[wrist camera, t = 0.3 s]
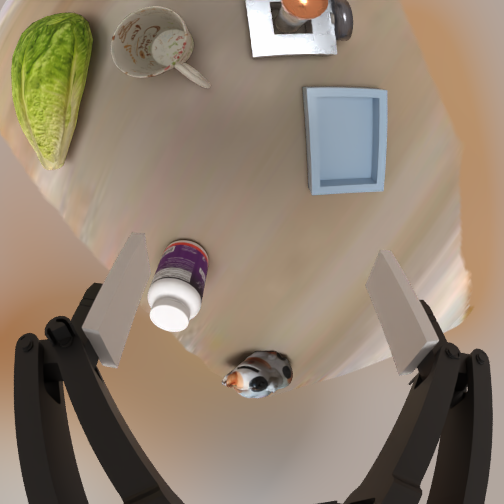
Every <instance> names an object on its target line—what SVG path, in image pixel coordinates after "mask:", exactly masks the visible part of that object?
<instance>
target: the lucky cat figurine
mask: <svg viewBox="0 0 504 504" xmlns="http://www.w3.org/2000/svg"><path fill="white" fill-rule="evenodd" d="M292 377H293V372H292V368H291V366H290V364H289V362H288V360H287V358H285V357H281V356H280V355H279V354H278V353H277V352H262V351H258V352H254V353H253V354H252V355H250V356H248V357H247V358H246V360H245V361H243V362H242V363H240V364H239V365H238V366H237V367H236V368H235V369H234V370H232V371H231V372H230V373H229V374H227V375H226V376H225V377H224V379H223V380H222V384H224V385H225V386H227V387H234V389H235V390H236V391H237V392H238V393H239V394H241V395H242V396H244V397H248V398H262V397H265V396H268V395H269V394H270V393H271V392H273V393H274V392H275V391H276V390H278V389H280V388H284V387H286V386H288V385H289V384H290V383H291V381H292Z"/></svg>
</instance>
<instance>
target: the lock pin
mask: <svg viewBox="0 0 504 504" xmlns="http://www.w3.org/2000/svg"><path fill="white" fill-rule="evenodd" d="M281 3H282V7H281V9H280V11H279V13H278V15H277V17H276V19H275V25H276V27H277V28H278V29H279V30H280V31H281V32H284V33H293V32H295V31H296V30H298V29H299V28H300V27H301V26H302V25H303V24H304V23H305V22H306V21H308V20H311V19H315V18H317V17H319V16H320V15H321V14H322V13H324V12H325V10H326V9H327V7H328V0H281Z"/></svg>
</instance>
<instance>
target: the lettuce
mask: <svg viewBox="0 0 504 504" xmlns="http://www.w3.org/2000/svg"><path fill="white" fill-rule="evenodd" d="M92 43H93V38H92V34H91V30H90V26H89V22H88V21H87V20H86V19H85V18H83V17H82V16H81V15H78V14H75V13H59V14H54V15H50V16H47V17H44V18H42V19H40V20H38V21H36V22H34V23H32V24H31V25H30V26H29V27H28V28H27V29H26V30H25V31H24V32H23V33H22V35H21V37H20V39H19V41H18V44H17V46H16V49H15V51H14V54H13V58H12V68H11V78H12V97H13V101H14V106H15V110H16V114H17V118H18V120H19V123H20V125H21V128H22V130H23V132H24V134H25V136H26V137H27V139H28V141H29V143H30V144H31V146H32V147H33V149H34V150H35V152H36V153H37V156H38V158H39V160H40V162H41V164H42V166H43V167H44V168H45V169H46V170H55V169H58V168H61V167H62V166H63V165H64V162H65V159H66V156H67V152H68V149H69V146H70V142H71V139H72V136H73V133H74V130H75V127H76V124H77V117H78V111H79V106H80V102H81V98H82V94H83V91H84V87H85V83H86V77H87V72H88V67H89V62H90V57H91V50H92Z"/></svg>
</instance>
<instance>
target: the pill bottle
mask: <svg viewBox="0 0 504 504" xmlns="http://www.w3.org/2000/svg"><path fill="white" fill-rule="evenodd" d="M208 264H209V260H208V256H207V254H206V252H205V250H204V249H203V248H202V247H201V246H200V245H198V244H196V243H194V242H192V241H187V240H179V241H175V242H173V243H171V244H170V245H168V246H167V248H166V249H165V251H164V253H163V255H162V258H161V260H160V263H159V265H158V268H157V270H156V273H155V275H154V278H153V280H152V283H151V286H150V288H149V291H148V302H149V305H150V307H151V311H150V318H151V320H152V322H153V323H154V324H155V325H156V326H158V327H159V328H161V329H163V330H166V331H171V332H177V331H181V330H184V329H185V328H186V327H187V326H188V323H189V320H190V319H192V318H193V317H195V316H196V315H197V314H198V312H199V310H200V308H201V303H202V297H203V291H204V286H205V281H206V275H207V270H208Z"/></svg>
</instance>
